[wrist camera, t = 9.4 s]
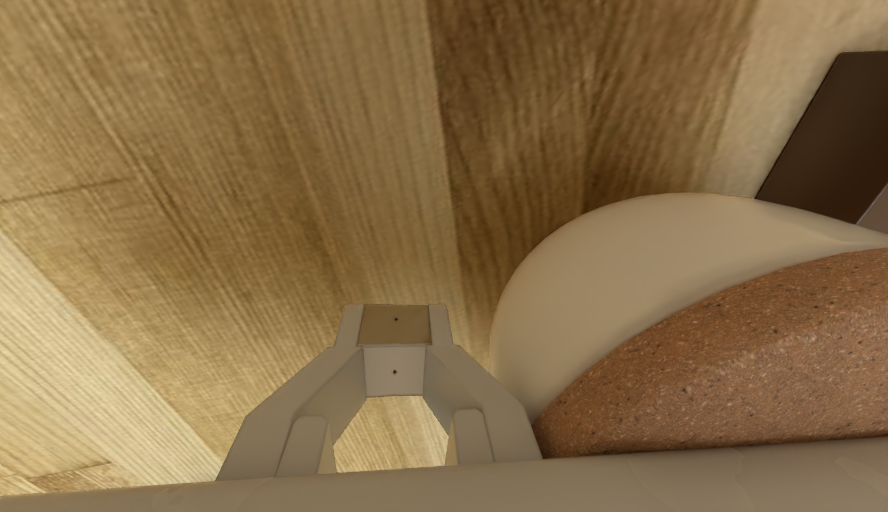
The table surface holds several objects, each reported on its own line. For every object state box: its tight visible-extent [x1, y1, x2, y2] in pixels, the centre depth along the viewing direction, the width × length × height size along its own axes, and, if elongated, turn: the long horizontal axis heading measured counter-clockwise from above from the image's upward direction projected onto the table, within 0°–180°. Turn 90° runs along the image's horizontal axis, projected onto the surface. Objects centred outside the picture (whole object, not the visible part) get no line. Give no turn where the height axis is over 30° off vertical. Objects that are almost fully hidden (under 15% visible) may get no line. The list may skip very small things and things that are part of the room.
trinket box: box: [489, 192, 888, 459], centre depth 9 cm, size 11×11×9 cm
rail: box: [756, 50, 888, 235], centre depth 14 cm, size 20×3×3 cm, turn 176°
